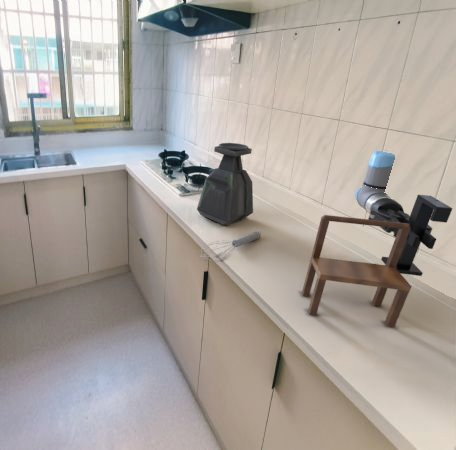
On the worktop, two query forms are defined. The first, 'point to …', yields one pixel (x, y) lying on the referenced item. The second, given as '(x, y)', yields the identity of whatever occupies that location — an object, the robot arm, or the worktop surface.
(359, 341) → the worktop surface
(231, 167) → the dark grey vase
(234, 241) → the kitchen whisk
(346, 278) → the chair
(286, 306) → the worktop surface
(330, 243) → the worktop surface
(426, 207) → the black pedestal stand
